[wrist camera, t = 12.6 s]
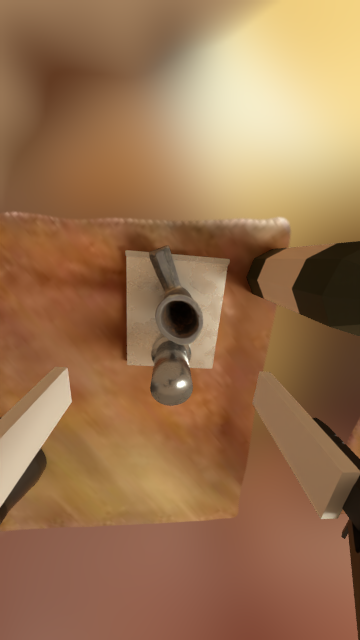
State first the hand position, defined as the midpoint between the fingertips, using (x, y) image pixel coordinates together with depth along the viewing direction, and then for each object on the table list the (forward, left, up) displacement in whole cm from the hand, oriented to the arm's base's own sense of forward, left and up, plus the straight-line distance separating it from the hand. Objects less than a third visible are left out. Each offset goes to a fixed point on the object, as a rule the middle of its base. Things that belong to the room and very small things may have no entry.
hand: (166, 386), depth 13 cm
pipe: (0, +4, -20) cm, 20 cm away
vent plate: (+1, -1, -21) cm, 21 cm away
